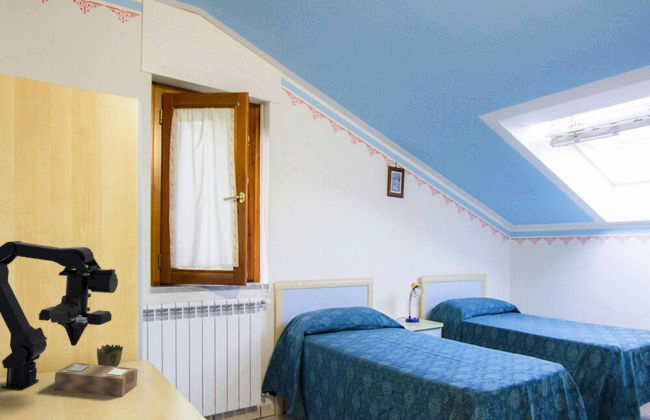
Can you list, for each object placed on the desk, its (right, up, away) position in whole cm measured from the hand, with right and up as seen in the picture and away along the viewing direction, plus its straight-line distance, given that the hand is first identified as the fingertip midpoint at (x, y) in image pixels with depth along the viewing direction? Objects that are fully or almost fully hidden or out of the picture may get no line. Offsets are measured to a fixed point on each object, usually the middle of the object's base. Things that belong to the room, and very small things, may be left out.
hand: (73, 345), depth 126 cm
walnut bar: (+6, -12, 0) cm, 14 cm away
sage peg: (+12, -12, 0) cm, 17 cm away
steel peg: (0, -12, +1) cm, 12 cm away
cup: (+4, -13, +12) cm, 18 cm away
